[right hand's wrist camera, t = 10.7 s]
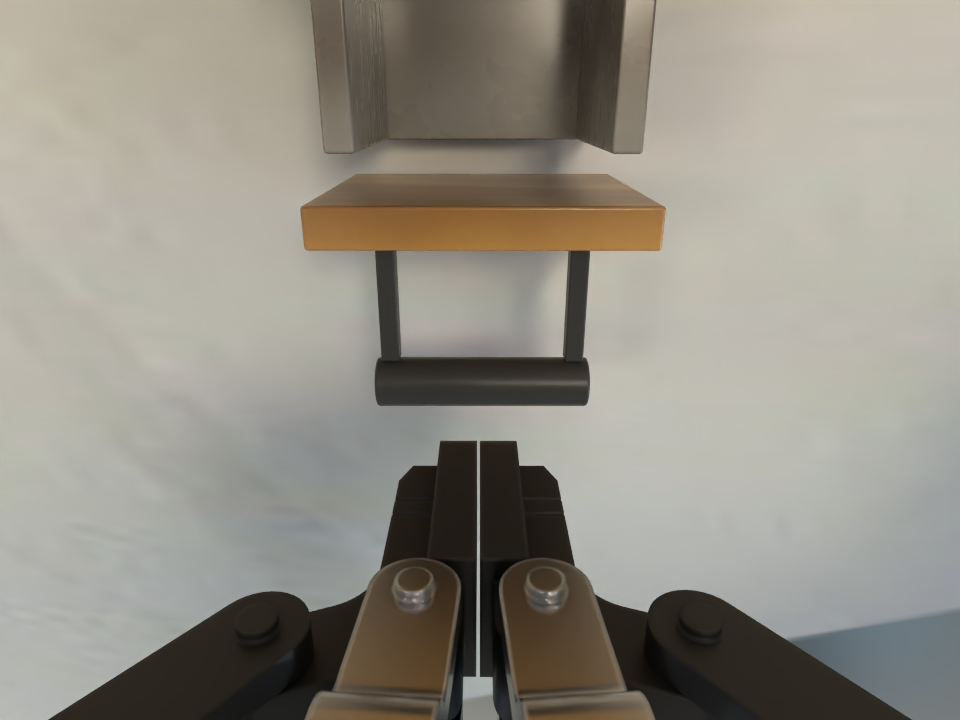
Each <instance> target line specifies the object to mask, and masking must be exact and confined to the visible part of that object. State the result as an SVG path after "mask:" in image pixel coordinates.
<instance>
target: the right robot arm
mask: <svg viewBox="0 0 960 720" xmlns="http://www.w3.org/2000/svg"><path fill="white" fill-rule="evenodd" d="M476 597H477V441H440V448H439V457H438V465H437V466H413V467H412V468H411V469H410V470H409V471H408V472H407V473H406V474H405V475H404V476H403V477H402V478H401V479H400V480H399V485H398V489H397V494H396V501H395V503H394V508H393V515H392V517H391V522H390V527H389V531H388V536H387V541H386V546H385V550H384V555H383V560H382V564H381V569H380V571H378V572H377V573H376V574H375V575H374V577H373V578H372V579H371V581H370V583H369V585H368V588H367V590H366V591H364V592H363V593H362V594H360V595H359V596H357V597H355V598H353V599H352V600H349V601H347V602H345V603H342V604H339V605H336V606H332V607H328V608H324V609H320V610H316V611H312V612H309V610H308V608H307V606H306V605H305V603H304V602H303V601H302V600H301V599H299V598H298V597H296V596H294V595H291V594H288V593H284V592H273V591H271V592H261V593H256V594H252V595H249V596H246V597H244V598H241V599H239V600H237V601H235V602H233V603H231V604H230V605H228V606H226V607H225V608H223V609H222V610H220V611H219V612H217V613H215V614H214V615H212V616H211V617H209V618H208V619H206V620H204V621H203V622H201V623H200V624H198V625H197V626H195V627H193V628H192V629H190V630H189V631H187V632H185V633H184V634H182V635H181V636H179V637H178V638H176V639H174V640H173V641H171V642H170V643H168V644H167V645H165V646H163V647H162V648H160V649H159V650H157V651H156V652H154V653H152V654H151V655H149V656H148V657H146V658H145V659H143V660H141V661H140V662H138V663H137V664H135V665H134V666H132V667H130V668H129V669H127V670H126V671H124V672H123V673H121V674H119V675H118V676H116V677H115V678H113V679H112V680H110V681H108V682H107V683H105V684H104V685H102V686H101V687H99V688H97V689H96V690H94V691H93V692H91V693H89V694H88V695H86V696H85V697H83V698H82V699H80V700H78V701H77V702H75V703H74V704H72V705H71V706H69V707H67V708H66V709H64V710H63V711H61V712H60V713H58V714H56V715H55V716H53V717H52V718H50V719H49V720H463V677H476ZM480 677H493V701H494V706H495V709H496V711H497V720H911V719H910V718H908V717H907V716H905V715H904V714H902V713H900V712H899V711H897V710H896V709H894V708H892V707H891V706H889V705H888V704H886V703H885V702H883V701H881V700H880V699H878V698H877V697H875V696H874V695H872V694H870V693H869V692H867V691H866V690H864V689H863V688H861V687H859V686H858V685H856V684H855V683H853V682H852V681H850V680H848V679H847V678H845V677H844V676H842V675H841V674H839V673H837V672H836V671H834V670H833V669H831V668H830V667H828V666H826V665H825V664H823V663H822V662H820V661H819V660H817V659H815V658H814V657H812V656H811V655H809V654H808V653H806V652H804V651H803V650H801V649H800V648H798V647H797V646H795V645H793V644H792V643H790V642H789V641H787V640H786V639H784V638H782V637H781V636H779V635H778V634H776V633H774V632H773V631H771V630H770V629H768V628H767V627H765V626H763V625H762V624H760V623H759V622H757V621H756V620H754V619H752V618H751V617H749V616H748V615H746V614H745V613H743V612H741V611H740V610H738V609H737V608H735V607H734V606H732V605H730V604H729V603H727V602H725V601H724V600H722V599H720V598H718V597H715V596H713V595H710V594H707V593H704V592H699V591H692V590H677V591H671V592H668V593H665V594H663V595H661V596H659V597H658V598H657V599H656V600H654V601H653V603H652V604H651V606H650V608H649V611H648V613H647V612H643V611H639V610H635V609H631V608H627V607H623V606H619V605H616V604H613V603H610V602H608V601H606V600H604V599H602V598H600V597H598V596H597V595H595V594H594V591H593V588H592V585H591V583H590V581H589V579H588V578H587V577H586V575H585V574H584V573H583V572H582V571H580V570H579V569H578V568H576V567H575V565H574V560H573V555H572V550H571V545H570V540H569V535H568V530H567V526H566V521H565V516H564V511H563V506H562V501H561V496H560V491H559V486H558V482H557V480H556V479H555V478H554V477H553V476H552V475H551V473H550V472H549V471H548V470H547V469H546V468H545V467H544V466H519V460H518V451H517V442H516V441H480Z"/></svg>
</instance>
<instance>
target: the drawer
mask: <svg viewBox="0 0 960 720" xmlns="http://www.w3.org/2000/svg"><path fill="white" fill-rule="evenodd" d="M311 9H312V21H313V32H314V44H315V56H316V67H317V79H318V90H319V102H320V113H321V125H322V137H323V148H324V152H325V153H327V154H352V153H354V152H357V151H359V150H362V149H364V148H367V147H369V146H372V145H374V144H377V143H379V142H381V141H384V140H386V139H577V140H580V141H583V142H585V143H588V144H590V145H593V146H596V147H598V148H601V149H603V150H606V151H608V152H611V153H614V154H640V153H642V151H643V141H644V130H645V119H646V108H647V97H648V86H649V75H650V64H651V54H652V43H653V32H654V21H655V10H656V0H311ZM300 210H301V220H302V229H303V239H304V248H305V250H308V251H375V257H376V274H377V290H378V306H379V323H380V339H381V355H382V357H380V358H378V360H377V363H376V369H375V395H376V401H377V403H378V405H380V406H585V405H586V404H587V402H588V399H589V391H590V374H589V365H588V362H587V359H586V358H584V357H583V350H584V335H585V320H586V304H587V289H588V274H589V259H590V251H659V250H661V248H662V238H663V229H664V220H665V210H666V209H665V207H664V206H662V205H660V204H659V203H657V202H655V201H653V200H652V199H650V198H648V197H646V196H645V195H643V194H641V193H639V192H637V191H636V190H634V189H632V188H630V187H629V186H627V185H625V184H623V183H622V182H620V181H618V180H616V179H615V178H613V177H611V176H609V175H607V174H356V175H354V176H353V177H351V178H349V179H348V180H346V181H344V182H342V183H341V184H339V185H337V186H336V187H334V188H332V189H331V190H329V191H327V192H325V193H324V194H322V195H320V196H319V197H317V198H315V199H314V200H312V201H310V202H309V203H307V204H305V205H303V206H302V207H301V209H300ZM396 251H569V252H568V271H567V290H566V308H565V327H564V346H563V356H564V357H401V338H400V318H399V297H398V277H397V256H396Z"/></svg>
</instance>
